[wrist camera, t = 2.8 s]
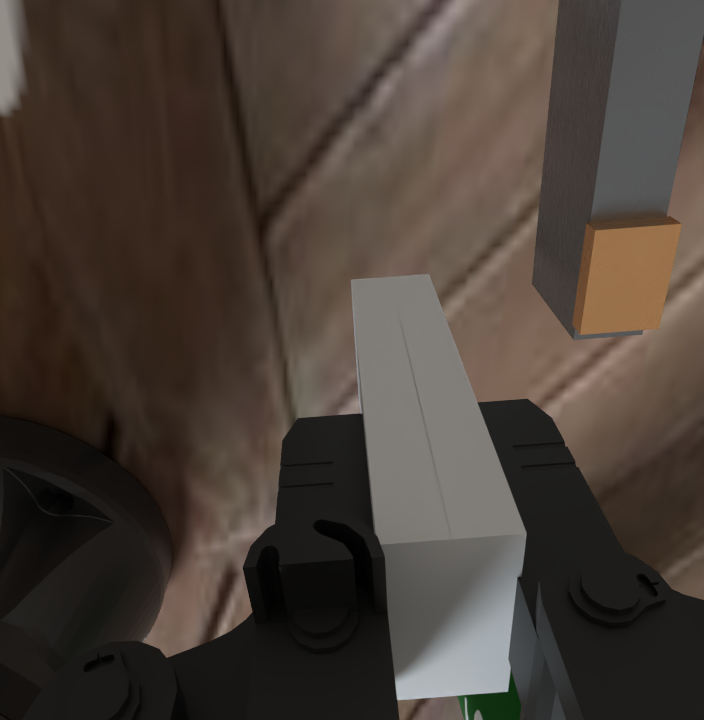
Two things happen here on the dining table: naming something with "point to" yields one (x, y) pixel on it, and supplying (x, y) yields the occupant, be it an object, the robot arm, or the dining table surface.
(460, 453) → the robot arm
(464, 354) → the dining table surface
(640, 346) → the dining table surface
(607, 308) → the bar
